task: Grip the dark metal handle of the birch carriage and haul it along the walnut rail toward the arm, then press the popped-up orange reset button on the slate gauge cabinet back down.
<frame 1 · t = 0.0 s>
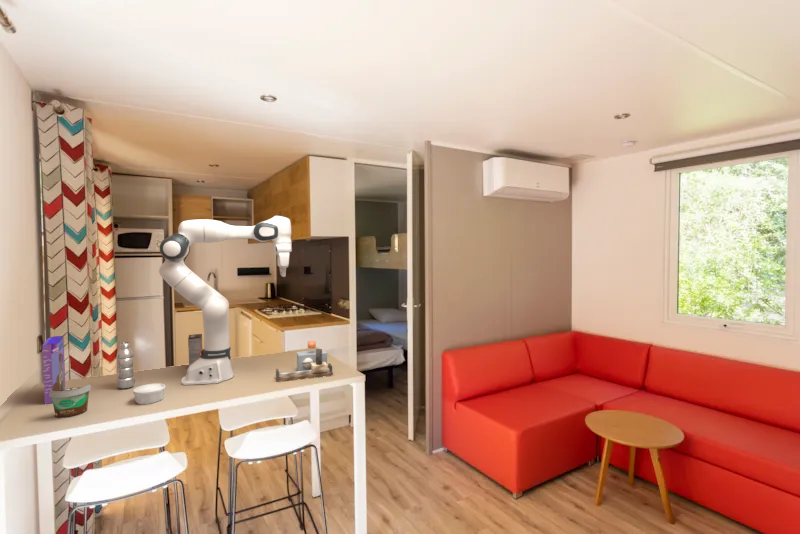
hand: (282, 276, 204), 48 cm above the table, fingers open, 8 cm apart
food container: (71, 415, 150), on the table
carriage: (318, 360, 198), point 7 cm above the table, slide at 7.0 cm
coffee box: (195, 366, 215), on the table
ramekin: (149, 400, 166), on the table
gauge cabinet: (311, 370, 207), on the table
reset button: (311, 344, 206), point 13 cm above the table, slide at 2.5 cm
plastic bottle: (126, 388, 181), on the table
rail: (304, 376, 196), on the table
cereal box: (55, 397, 170), on the table
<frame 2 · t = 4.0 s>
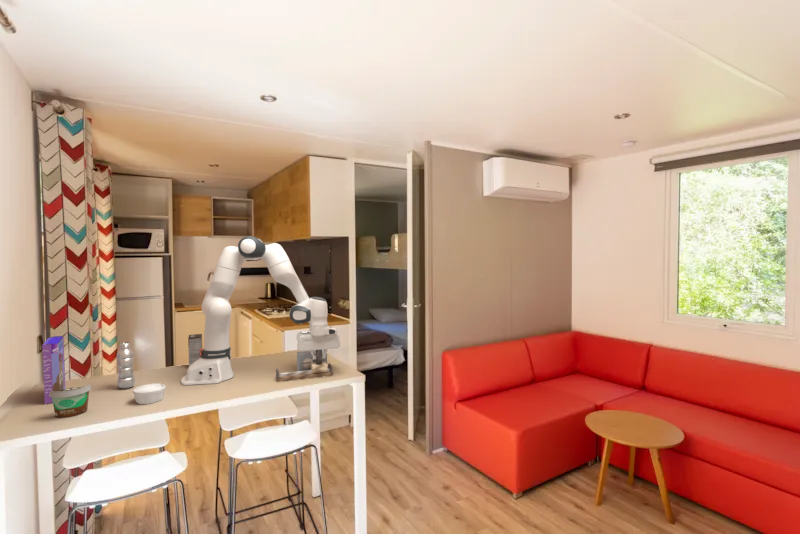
hand: (318, 358, 198), 8 cm above the table, fingers closed on carriage, 3 cm apart
carriage: (318, 360, 198), point 7 cm above the table, slide at 7.0 cm, touching gripper
everything else where it was.
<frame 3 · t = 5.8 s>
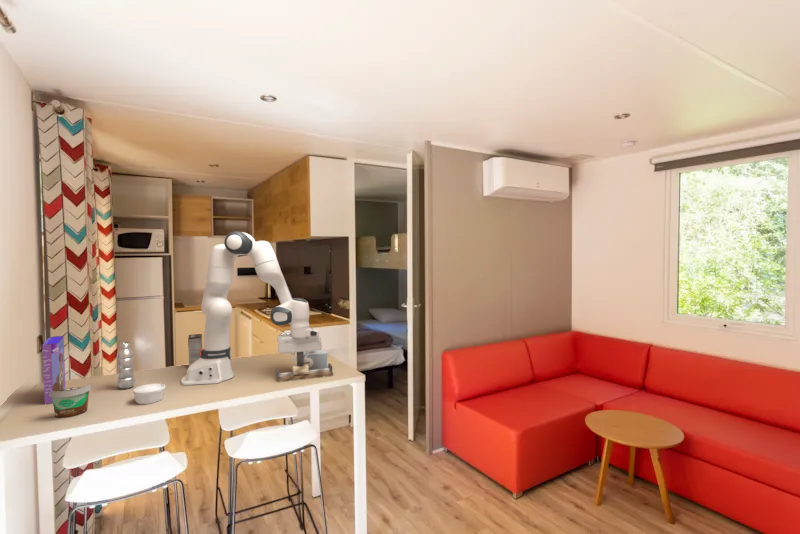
hand: (300, 360, 195), 8 cm above the table, fingers closed on carriage, 3 cm apart
carriage: (300, 362, 195), point 7 cm above the table, slide at -1.9 cm, touching gripper
everything else where it was.
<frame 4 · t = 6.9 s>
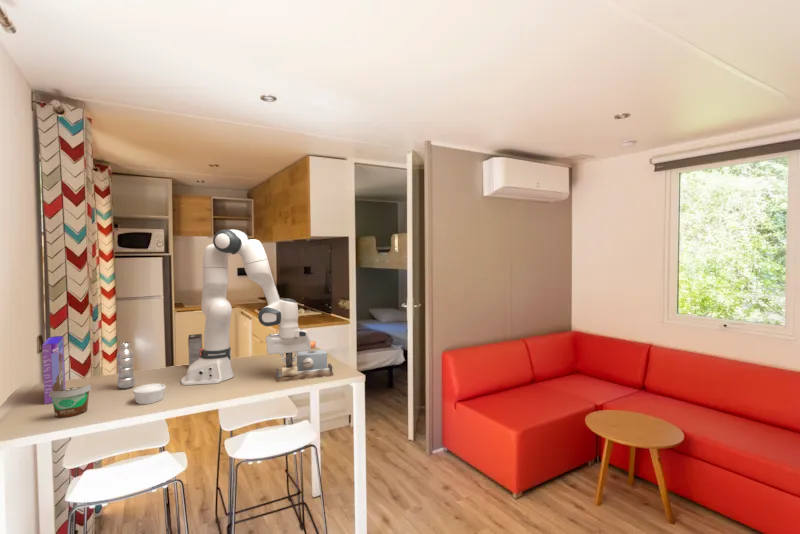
hand: (289, 361, 193), 8 cm above the table, fingers closed on carriage, 3 cm apart
carriage: (289, 363, 193), point 7 cm above the table, slide at -7.0 cm, touching gripper
everything else where it was.
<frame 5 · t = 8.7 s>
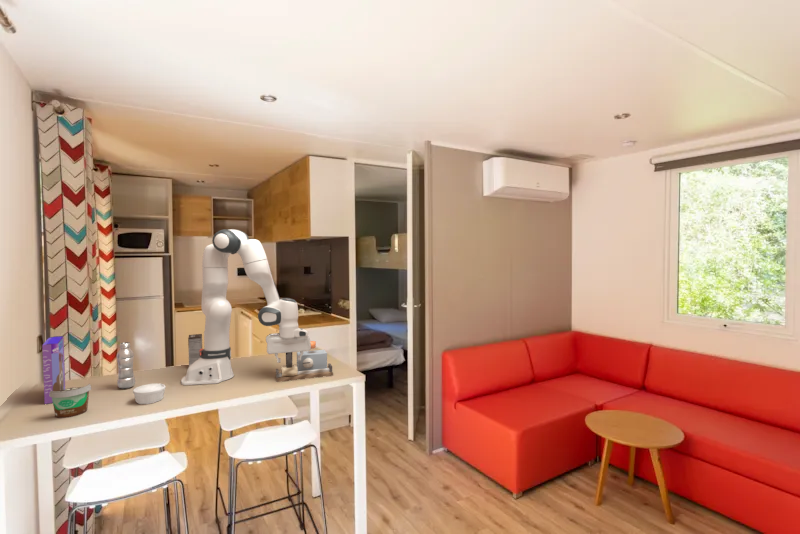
hand: (289, 361, 193), 8 cm above the table, fingers open, 8 cm apart
carriage: (289, 363, 193), point 7 cm above the table, slide at -7.1 cm
everything else where it was.
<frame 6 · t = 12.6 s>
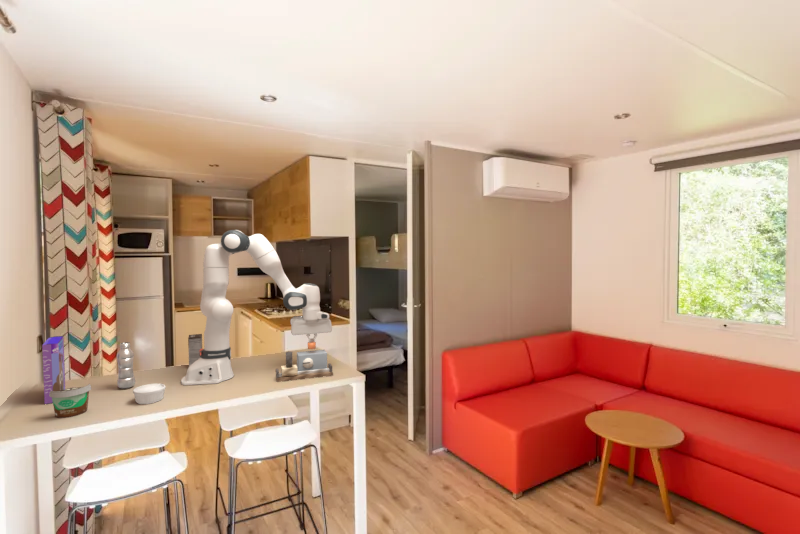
hand: (311, 342, 206), 14 cm above the table, fingers closed, pressing on reset button
reset button: (311, 345, 206), point 13 cm above the table, slide at 2.2 cm, touching gripper
everything else where it was.
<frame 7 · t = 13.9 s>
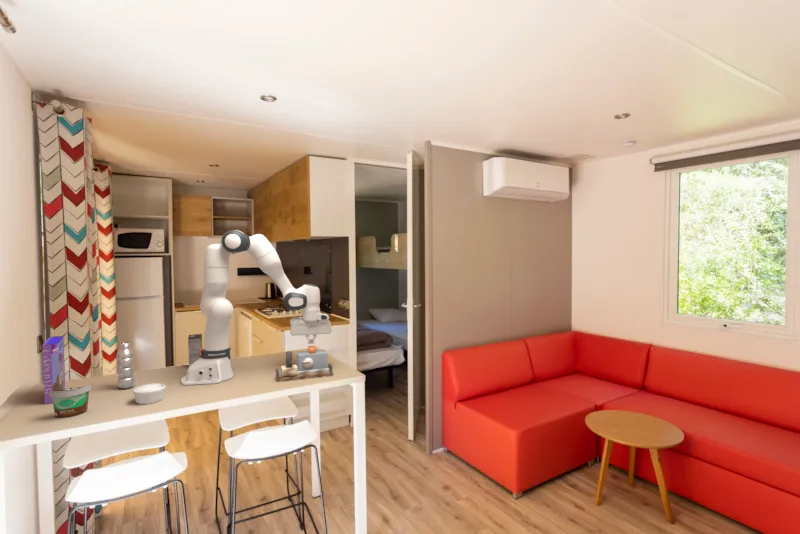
hand: (311, 343, 206), 14 cm above the table, fingers closed
reset button: (311, 349, 206), point 10 cm above the table, slide at 0.0 cm, touching gauge cabinet
everything else where it was.
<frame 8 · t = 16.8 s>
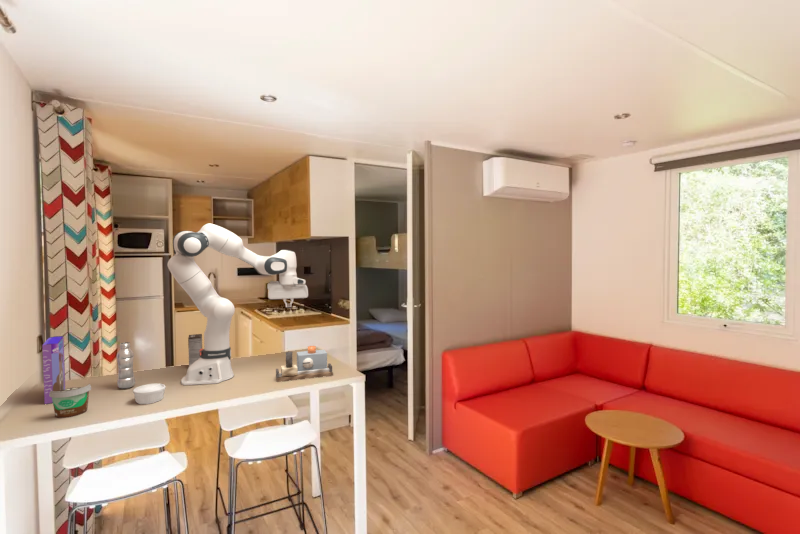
hand: (288, 307, 213), 31 cm above the table, fingers closed
nothing on the table moved.
at the end: carriage slide at -7.1 cm; reset button slide at 0.0 cm; the gripper is holding nothing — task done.
